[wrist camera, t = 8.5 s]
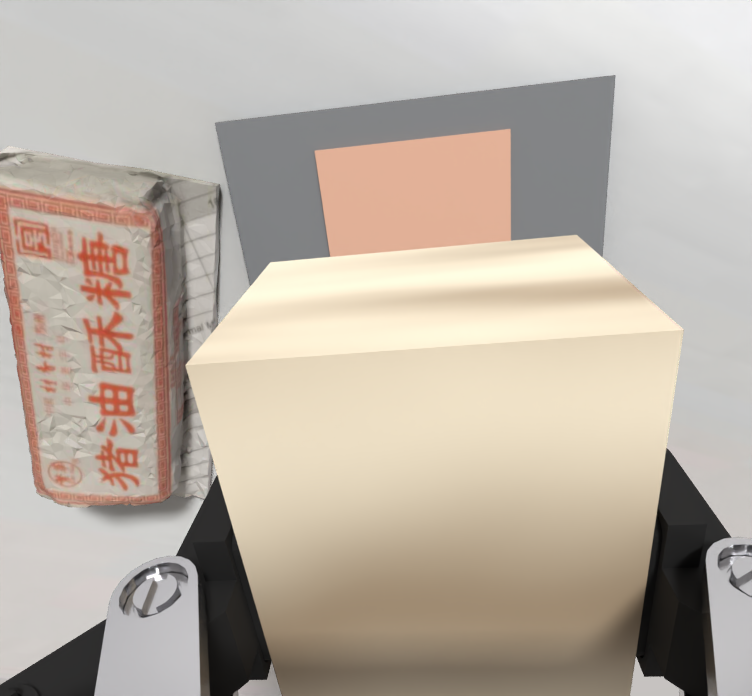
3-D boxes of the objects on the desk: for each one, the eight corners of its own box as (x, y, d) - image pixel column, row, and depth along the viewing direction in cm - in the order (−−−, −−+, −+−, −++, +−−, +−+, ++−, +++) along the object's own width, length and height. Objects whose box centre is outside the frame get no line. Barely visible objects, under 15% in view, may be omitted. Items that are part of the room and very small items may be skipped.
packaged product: (-82, 151, 20) (186, 198, 20) (7, 141, 24) (226, 179, 24) (-8, 519, 28) (184, 550, 28) (49, 460, 32) (215, 488, 32)
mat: (324, 611, 35) (322, 622, 35) (219, 122, 23) (213, 123, 22) (574, 605, 34) (577, 617, 33) (610, 75, 21) (617, 75, 20)
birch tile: (270, 262, 11) (185, 365, 7) (576, 234, 10) (683, 329, 6) (333, 580, 15) (303, 768, 11) (559, 574, 14) (618, 771, 10)
